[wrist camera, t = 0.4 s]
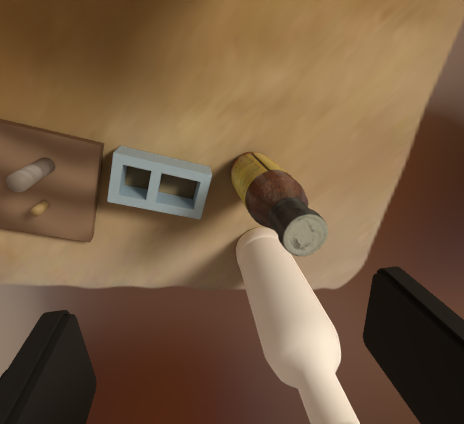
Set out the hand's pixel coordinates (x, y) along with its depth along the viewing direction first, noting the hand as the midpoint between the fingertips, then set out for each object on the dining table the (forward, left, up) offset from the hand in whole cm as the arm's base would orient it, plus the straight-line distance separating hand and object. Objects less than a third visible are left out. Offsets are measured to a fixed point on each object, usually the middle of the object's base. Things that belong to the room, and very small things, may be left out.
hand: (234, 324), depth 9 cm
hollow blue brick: (+7, -3, -33) cm, 34 cm away
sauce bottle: (+3, +9, -33) cm, 35 cm away
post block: (+11, -17, -33) cm, 39 cm away
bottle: (+15, +14, -33) cm, 39 cm away
